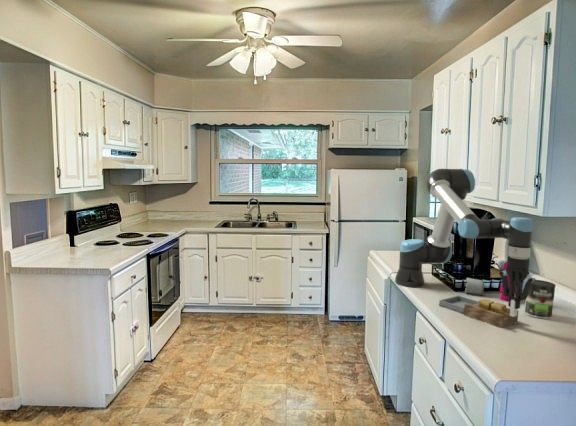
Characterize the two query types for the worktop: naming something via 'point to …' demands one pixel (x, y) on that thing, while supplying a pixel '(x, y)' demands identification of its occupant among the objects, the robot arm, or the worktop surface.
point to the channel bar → (490, 316)
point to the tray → (457, 303)
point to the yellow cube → (498, 308)
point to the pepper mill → (502, 286)
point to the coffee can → (540, 299)
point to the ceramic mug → (474, 286)
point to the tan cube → (485, 304)
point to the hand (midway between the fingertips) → (513, 315)
